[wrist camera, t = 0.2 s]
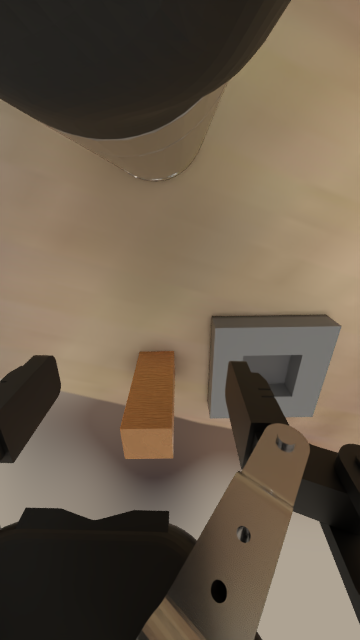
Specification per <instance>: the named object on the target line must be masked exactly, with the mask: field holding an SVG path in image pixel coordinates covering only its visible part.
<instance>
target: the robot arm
mask: <svg viewBox="0 0 360 640" xmlns="http://www.w3.org/2000/svg"><path fill="white" fill-rule="evenodd" d="M290 1H291V0H0V99H2V100H4V101H5V102H7V103H9V104H10V105H12V106H14V107H15V108H17V109H19V110H21V111H22V112H24V113H26V114H28V115H29V116H31V117H33V118H34V119H36V120H38V121H39V122H41V123H43V124H45V125H46V126H48V127H50V128H52V129H53V130H55V131H57V132H59V133H60V134H62V135H64V136H66V137H67V138H69V139H71V140H73V141H75V142H76V143H78V144H80V145H81V146H83V147H85V148H87V149H88V150H90V151H92V152H94V153H95V154H97V155H99V156H101V157H102V158H104V159H106V160H107V161H109V162H111V163H113V164H114V165H116V166H118V167H120V168H121V169H123V170H125V171H126V172H128V173H129V174H131V175H132V176H135V177H137V178H141V179H143V180H148V181H162V180H167V179H170V178H172V177H175V176H177V175H178V174H180V173H181V172H182V171H184V170H185V169H186V168H187V167H188V166H189V165H190V164H191V162H192V161H193V160H194V158H195V156H196V155H197V153H198V151H199V149H200V147H201V144H202V142H203V140H204V138H205V135H206V133H207V131H208V128H209V126H210V123H211V121H212V119H213V116H214V114H215V111H216V109H217V106H218V104H219V102H220V99H221V97H222V94H223V92H224V90H225V87H226V85H227V82H228V81H229V80H230V79H231V78H232V77H233V76H235V75H236V74H237V73H238V72H239V71H240V70H241V69H242V68H243V67H244V66H245V65H246V63H247V62H248V61H249V60H250V59H251V58H252V57H253V55H254V54H255V53H256V52H257V50H258V49H259V48H260V47H261V45H262V44H263V43H264V42H265V40H266V39H267V37H268V35H269V34H270V32H271V31H272V29H273V28H274V26H275V25H276V23H277V21H278V20H279V18H280V17H281V15H282V14H283V12H284V10H285V9H286V7H287V6H288V4H289V2H290ZM60 389H61V382H60V377H59V373H58V368H57V364H56V360H55V357H54V356H47V355H34V356H33V357H32V358H31V359H30V360H29V361H28V362H27V363H25V364H24V365H23V366H20V367H18V368H17V369H15V370H13V371H11V372H10V373H8V374H7V375H6V376H5V377H4V378H3V379H2V380H1V381H0V463H14V462H15V460H16V459H17V457H18V456H19V454H20V453H21V451H22V450H23V448H24V447H25V445H26V444H27V442H28V441H29V439H30V438H31V436H32V435H33V433H34V431H35V430H36V429H37V427H38V426H39V424H40V423H41V421H42V420H43V418H44V417H45V415H46V413H47V412H48V411H49V409H50V408H51V406H52V405H53V403H54V402H55V400H56V399H57V397H58V395H59V393H60ZM225 400H226V405H227V409H228V413H229V418H230V422H231V426H232V431H233V435H234V439H235V443H236V448H237V452H238V456H239V460H240V465H241V469H242V471H241V472H240V471H238V472H237V473H236V474H235V476H234V477H233V479H232V481H231V482H230V484H229V486H228V488H227V489H226V491H225V493H224V495H223V497H222V498H221V500H220V502H219V503H218V505H217V507H216V509H215V510H214V512H213V514H212V516H211V517H210V519H209V521H208V523H207V524H206V526H205V528H204V530H203V531H202V533H201V535H200V537H199V539H198V540H196V539H194V538H193V537H192V536H191V535H190V534H189V533H187V532H186V531H185V530H183V529H181V528H179V527H177V526H175V525H172V524H169V511H142V510H133V511H130V512H126V513H122V514H118V515H114V516H111V517H107V518H103V519H99V520H91V519H88V518H85V517H83V516H80V515H77V514H74V513H72V512H69V511H66V510H64V509H58V508H25V510H24V512H23V514H22V516H21V518H20V520H19V522H16V523H13V524H11V525H8V526H5V527H3V528H1V527H0V640H262V639H261V637H260V636H259V634H258V632H257V628H258V625H259V621H260V618H261V615H262V611H263V608H264V605H265V601H266V598H267V595H268V592H269V588H270V585H271V582H272V578H273V575H274V572H275V568H276V565H277V562H278V558H279V555H280V551H281V549H282V545H283V542H284V539H285V535H286V532H287V528H288V525H289V522H290V519H291V515H292V512H293V511H294V512H296V513H299V514H302V515H304V516H307V517H310V518H312V519H315V520H317V521H319V522H320V524H321V527H322V529H323V532H324V534H325V537H326V539H327V542H328V544H329V547H330V550H331V552H332V555H333V557H334V560H335V562H336V565H337V567H338V570H339V572H340V575H341V578H342V580H343V583H344V585H345V588H346V590H347V593H348V595H349V598H350V600H351V603H352V605H353V608H354V611H355V613H356V616H357V618H358V621H359V623H360V445H356V444H346V445H343V446H342V447H341V448H340V450H339V452H338V453H337V452H333V451H330V450H327V449H323V448H320V447H317V446H314V445H311V444H309V443H308V441H307V439H306V438H305V437H304V436H303V435H302V434H301V433H300V432H299V431H298V430H296V429H295V428H293V427H291V426H289V424H288V422H287V420H286V418H285V416H284V414H283V412H282V410H281V408H280V406H279V404H278V402H277V400H276V398H274V394H273V392H272V391H271V388H270V386H269V384H268V382H267V380H266V379H265V378H263V377H262V376H261V375H260V374H259V373H253V372H251V371H250V368H249V366H248V364H247V362H246V361H229V363H228V370H227V378H226V385H225Z"/></svg>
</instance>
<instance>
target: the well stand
mask: <svg viewBox="0 0 360 640" xmlns="http://www.w3.org/2000/svg"><path fill="white" fill-rule="evenodd" d="M340 329H341V326H340V325H339V324H338V323H336V322H335V321H334V320H333V319H331V318H330V317H329V316H327V315H282V316H215V317H212V325H211V345H210V365H209V384H208V408H209V415H210V418H229V413H228V409H227V405H226V400H225V385H226V378H227V370H228V363H229V361H246V362H247V364H248V366H249V368H250V371H251V372H253V373H259V374H260V375H261V376H262V377H263V378H265V379H266V380H267V382H268V384H269V386H270V388H271V391H272V392H273V394H274V398H276V400H277V402H278V404H279V406H280V408H281V410H282V412H283V414H284V416H285V417H312V416H313V413H314V410H315V407H316V404H317V401H318V398H319V395H320V391H321V388H322V385H323V382H324V379H325V376H326V373H327V370H328V366H329V363H330V360H331V357H332V354H333V351H334V348H335V345H336V342H337V338H338V335H339V332H340Z"/></svg>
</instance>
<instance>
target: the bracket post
mask: <svg viewBox="0 0 360 640" xmlns="http://www.w3.org/2000/svg"><path fill="white" fill-rule="evenodd" d="M174 388H175V367H174V351H162V352H140V353H139V357H138V361H137V365H136V369H135V373H134V376H133V380H132V384H131V388H130V392H129V396H128V400H127V404H126V408H125V412H124V415H123V420H122V423H121V427H120V432H121V438H122V444H123V449H124V455H125V459H148V458H149V459H154V458H173V435H174V434H173V433H174Z"/></svg>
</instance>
